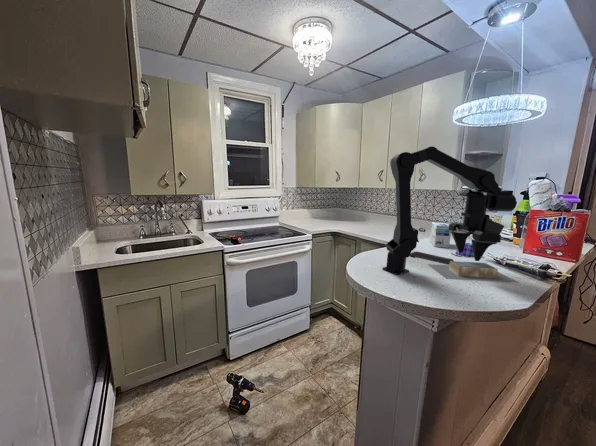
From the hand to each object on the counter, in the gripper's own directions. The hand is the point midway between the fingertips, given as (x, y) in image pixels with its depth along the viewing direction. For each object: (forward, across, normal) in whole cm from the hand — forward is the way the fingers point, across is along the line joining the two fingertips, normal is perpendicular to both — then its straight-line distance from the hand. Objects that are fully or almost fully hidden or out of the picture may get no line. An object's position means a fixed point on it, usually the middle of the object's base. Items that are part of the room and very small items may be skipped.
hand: (468, 256), depth 84 cm
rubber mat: (+6, +1, -2) cm, 7 cm away
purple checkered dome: (+7, +25, -14) cm, 30 cm away
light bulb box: (+6, +41, -10) cm, 43 cm away
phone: (+7, +16, +5) cm, 18 cm away
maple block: (+4, 0, +4) cm, 6 cm away
